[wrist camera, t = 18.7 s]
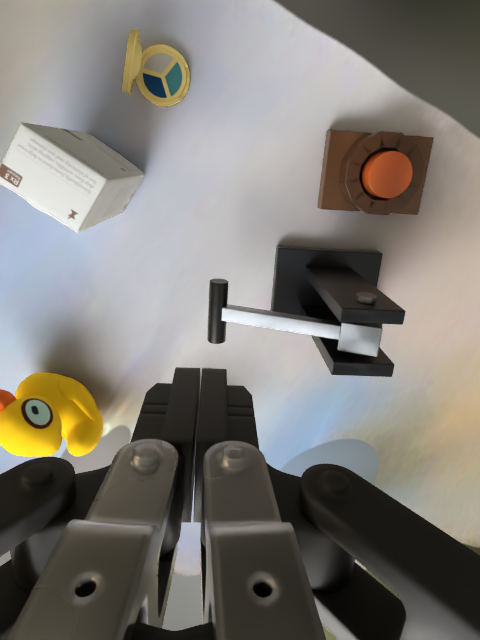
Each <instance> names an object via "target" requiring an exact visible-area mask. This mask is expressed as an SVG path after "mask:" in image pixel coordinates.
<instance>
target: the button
mask: <svg viewBox="0 0 480 640" xmlns="http://www.w3.org/2000/svg"><path fill="white" fill-rule="evenodd" d="M412 172H413V170H412V165H411V162H410V160H409V159H408V157H407V156H406V155H404V154H403V153H401V152H398V151H384V152H379V153H377V154H375V155H373V156H372V157H371V158H370V159H369V160H368V161H367V162H366V164H365V166H364V168H363V171H362V182H363V185H364V187H365V189H366V190H367V191H368V192H369V193H370V194H372V195H374V196H377V197H382V198H393V197H396V196H398V195H400V194H401V193H403V192H404V191H405V190H406V188H407V187H408V186H409V184H410V182H411V179H412Z"/></svg>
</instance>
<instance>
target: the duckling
mask: <svg viewBox="0 0 480 640" xmlns="http://www.w3.org/2000/svg"><path fill="white" fill-rule="evenodd" d="M102 430H103V418H102V416H101V413H100V411H99V410H98V408H97V405H96V402H95V400H94V398H93V396H92V395H91V394H90V392H89V391H88V390H87V388H86V387H85V386H84V385H83V384H81V383H79V382H78V381H76V380H75V379H73V378H70V377H65V376H62V375H59V374H55V373H47V372H40V373H35V374H33V375H31V376H29V377H27V378H26V379H25V380H23V381H22V382H21V383H20V385H19V386H18V388H17V390H16V394H15V397H14V396H13V395H12V394H11V393H10V392H8V391H5V390H1V389H0V445H1V446H2V447H3V448H4V449H5V450H7V451H8V452H10V453H12V454H15V455H18V456H26V457H31V456H50V455H53V454H54V453H56V452H57V450H58V449H59V447H60V445H61V442H62V437H63V438H64V439H65V440H66V441H67V449H68V451H69V452H70V453H71V454H72V455H74V456H83V455H85V454H87V453H89V452H90V451H92V450H93V449H94V448H95V447H96V445H97V444H98V442H99V439H100V437H101V434H102Z"/></svg>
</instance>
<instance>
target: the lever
mask: <svg viewBox="0 0 480 640" xmlns="http://www.w3.org/2000/svg"><path fill="white" fill-rule="evenodd" d="M227 298H228V281H227V280H224V279H212V280H210V288H209V315H208V341H209V342H210V343H214V344H220V343H223V342H225V335H226V322H232V323H238V324H245V325H251V326H257V327H263V328H269V329H275V330H281V331H287V332H294V333H300V334H306V335H312V336H318V337H324V338H330V339H336V340H339V341H338V347H337V350H339V351H344V352H350V353H356V354H362V355H368V356H374V357H377V355H378V350H379V345H380V340H381V335H382V329H383V328H382V324H380V323H357V322H339V321H332V320H326V319H319V318H313V317H306V316H300V315H293V314H286V313H280V312H273V311H267V310H260V309H254V308H247V307H241V306H234V305H227Z"/></svg>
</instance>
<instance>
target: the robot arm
mask: <svg viewBox="0 0 480 640" xmlns="http://www.w3.org/2000/svg"><path fill="white" fill-rule="evenodd" d="M199 399H200V400H199ZM194 476H195V488H194ZM193 488H194V522H201V538H200V572H201V599H202V600H201V602H202V625H199V626H194V627H191V628H187V629H184V630H179V631H170V630H165V629H162V625H163V620H164V615H165V610H166V605H167V600H168V595H169V590H170V585H171V580H172V575H173V570H174V565H175V560H176V555H177V542H178V540H179V537H180V530H181V522H191V512H192V500H193ZM9 550H10V554H11V560H9V561H8V562H6V563H5V564H3V565H2V566H0V640H326V637H325V634H324V631H323V627H322V625H323V626H324V627H325V628H326V629H327V630H328V631H329V632H330V633H331V634H332V635H333V636H334V637H335V638H336V639H337V640H480V556H479V555H478V554H476V553H475V552H473V551H472V550H470V549H469V548H467V547H466V546H464V545H463V544H461V543H460V542H458V541H457V540H455V539H454V538H452V537H451V536H449V535H448V534H446V533H445V532H443V531H442V530H440V529H439V528H437V527H436V526H434V525H433V524H431V523H430V522H428V521H427V520H425V519H424V518H422V517H421V516H419V515H418V514H416V513H415V512H413V511H411V510H410V509H408V508H407V507H405V506H404V505H402V504H401V503H399V502H398V501H396V500H395V499H393V498H392V497H390V496H389V495H387V494H386V493H384V492H383V491H381V490H380V489H378V488H377V487H375V486H374V485H372V484H371V483H369V482H367V481H366V480H365V479H363V478H362V477H360V476H359V475H357V474H355V473H354V472H352V471H351V470H349V469H347V468H344V467H341V466H338V465H333V464H318V465H314V466H312V467H310V468H308V469H307V470H306V471H305V472H304V473H303V475H302V477H298V476H294V475H290V474H287V473H283V472H281V471H279V470H276V469H275V468H273V467H271V466H270V465H269V464H267V463H266V461H265V458H264V455H263V454H262V452H261V451H260V450H259V445H258V438H257V430H256V423H255V417H254V408H253V401H252V395H251V394H250V393H249V392H248V391H247V389H246V388H245V387H244V386H229V385H227V372H226V369H209V368H202V378H201V389H200V368H178V367H176V369H175V373H174V378H173V383H172V384H165V383H157V384H155V385H154V386H153V387H152V388H151V389H150V390H149V391H147V393H146V396H145V399H144V402H143V405H142V408H141V411H140V414H139V417H138V420H137V424H136V427H135V430H134V433H133V436H132V439H131V442H130V443H129V444H127V445H125V446H124V447H122V448H121V449H120V450H119V451H118V452H117V454H116V455H115V457H114V459H113V461H112V464H111V465H109V466H107V467H104V468H101V469H98V470H93V471H88V472H83V473H78V474H75V471H74V467H73V466H72V464H70V463H69V462H68V461H66V460H64V459H61V458H57V457H42V458H36V459H32V460H29V461H26V462H24V463H22V464H20V465H18V466H16V467H14V468H12V469H10V470H8V471H6V472H4V473H2V474H0V557H1V556H2V555H3V554H5V553H6V552H8V551H9ZM355 559H356V560H357V561H359V562H360V563H361V564H362V565H363V566H365V567H366V568H367V569H368V570H369V571H371V572H372V573H373V574H374V575H375V576H377V577H378V578H379V579H380V580H381V581H383V582H384V583H385V584H386V585H387V586H389V587H390V588H391V589H392V590H393V591H394V592H395V593H396V594H397V595H398V597H399V598H400V600H399V599H398V598H397V597H396V596H394V595H393V594H392V593H391V592H390V591H389V590H387V589H386V588H385V587H384V586H383V585H382V584H380V583H379V582H378V581H377V580H376V579H374V578H373V577H372V576H371V575H369V574H368V573H367V572H366V571H365V570H364V569H362V568H361V567H360V566H359V565H358V564H356V563H355V562H354V561H355Z"/></svg>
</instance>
